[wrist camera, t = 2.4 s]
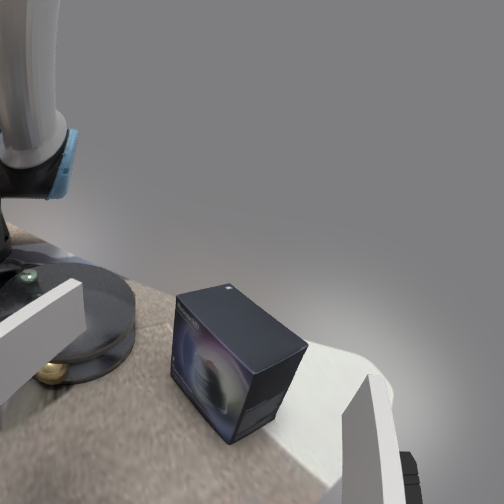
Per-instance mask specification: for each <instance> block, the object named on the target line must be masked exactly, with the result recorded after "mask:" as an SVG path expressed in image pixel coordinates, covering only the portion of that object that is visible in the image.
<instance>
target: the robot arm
mask: <svg viewBox="0 0 504 504" xmlns="http://www.w3.org/2000/svg"><path fill="white" fill-rule="evenodd" d="M59 7H60V0H0V262H1V261H2V260H4V259H5V258H6V257H7V256H8V255H9V253H10V252H11V248H12V247H11V237H10V234H9V231H8V228H7V225H6V222H5V220H4V217H3V214H2V210H1V198H2V199H3V198H21V199H22V198H24V199H25V198H27V199H45V200H49V199H60V198H63V197H64V196H65V195H66V193H67V191H68V187H69V183H70V178H71V172H72V167H73V162H74V157H75V152H76V146H77V141H78V131H77V130H74V129H72V128H68V129H67V126H66V121H65V119H64V117H63V115H62V114H61V113H60V112H59V111H57V110H56V103H55V50H56V34H57V23H58V15H59ZM85 330H86V321H85V311H84V300H83V286H82V283H81V282H79V281H77V280H75V279H73V278H71V279H69V280H67V281H65V282H64V283H62V284H60V285H59V286H57V287H55V288H54V289H52V290H50V291H49V292H47V293H46V294H44V295H42V296H41V297H39V298H37V299H36V300H34V301H33V302H31V303H29V304H28V305H26V306H25V307H23V308H22V309H20V310H19V311H17V312H15V313H14V314H13V313H12V314H9V315H5V316H2V317H1V318H0V405H2V404H3V403H4V402H5V401H7V400H8V399H9V398H10V397H11V396H12V395H13V394H14V393H15V392H16V391H17V390H18V389H19V388H20V387H22V386H23V385H24V384H25V383H26V382H27V381H28V380H29V379H30V378H31V377H32V376H34V375H35V374H36V373H37V372H38V371H39V370H40V369H41V368H42V367H44V366H45V365H46V364H47V363H48V362H49V361H50V360H52V359H53V358H54V357H55V356H56V355H57V354H58V353H60V352H61V351H62V350H63V349H64V348H65V347H66V346H68V345H69V344H70V343H71V342H72V341H73V340H75V339H76V338H77V337H78V336H79V335H81V334H82V333H83V332H84V331H85ZM342 447H343V471H342V504H423V503H422V495H421V488H420V486H419V484H420V481H419V476H418V470H417V464H416V461H415V460H414V458H413V456H412V455H411V453H410V452H400V451H399V449H398V442H397V437H396V431H395V426H394V421H393V416H392V411H391V406H390V401H389V397H388V392H387V388H386V384H385V379H384V377H382V376H377V375H371V374H368V375H367V376H366V378H365V380H364V381H363V383H362V385H361V386H360V388H359V390H358V391H357V393H356V394H355V396H354V397H353V399H352V401H351V402H350V404H349V405H348V407H347V408H346V410H345V411H344V413H343V414H342Z"/></svg>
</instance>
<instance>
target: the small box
mask: <svg viewBox="0 0 504 504" xmlns="http://www.w3.org/2000/svg"><path fill="white" fill-rule="evenodd" d="M308 345H309V344H308V343H307V342H305V341H304V340H302V339H301V338H300V337H298V336H297V335H296V334H294V333H293V332H291V331H290V330H289V329H288V328H286V327H285V326H284V325H282V324H281V323H280V322H278V321H277V320H276V319H275V318H273V317H272V316H271V315H269V314H268V313H267V312H265V311H264V310H263V309H262V308H260V307H259V306H258V305H256V304H255V303H254V302H252V301H251V300H250V299H249V298H247V297H246V296H245V295H244V294H242V293H241V292H240V291H239V290H237V289H236V288H235V287H234V286H232V285H231V284H230V283H228V284H224V285H220V286H215V287H210V288H206V289H201V290H197V291H193V292H188V293H183V294H179V295H176V308H175V318H174V330H173V344H172V357H171V372H170V374H171V376H172V377H173V378H174V380H175V381H176V382H177V384H178V385H179V386H180V388H181V389H182V390H183V392H184V393H185V394H186V395H187V397H188V398H189V399H190V400H191V402H192V403H193V404H194V405H195V407H196V408H197V409H198V410H199V412H200V413H201V414H202V415H203V416H204V418H205V419H206V420H207V421H208V422H209V423H210V425H211V426H212V427H213V428H214V429H215V430H216V432H217V433H218V434H219V435H220V436H221V437H222V438H223V439H224V440H225V442H226V443H227V444H228V445H230V444H232V443H234V442H236V441H238V440H240V439H242V438H244V437H245V436H247V435H249V434H251V433H252V432H254V431H256V430H257V429H259V428H261V427H262V426H264V425H266V424H267V423H269V422H270V421H272V420H274V419H275V416H276V413H277V411H278V409H279V406H280V405H281V403H282V401H283V398H284V396H285V395H286V392H287V390H288V388H289V386H290V384H291V382H292V380H293V377H294V375H295V372H296V371H297V368H298V366H299V364H300V361H301V360H302V357H303V355H304V353H305V352H306V350H307V348H308Z"/></svg>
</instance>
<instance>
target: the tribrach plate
mask: <svg viewBox="0 0 504 504" xmlns="http://www.w3.org/2000/svg"><path fill="white" fill-rule="evenodd" d="M71 278H73V279H75V280H77V281H79V282H81V283H82V286H83V300H84V311H85V321H86V330H85V331H84V332H83V333H82V334H81V335H79V336H78V337H77V338H76V339H75V340H73V341H72V342H71V343H70V344H69V345H68V346H66V347H65V348H64V349H63V350H62V351H61V352H60V353H58V354H57V355H56V356H55V357H54V358H53V359H52V360H50V361H49V362H48V363H47V364H46V365H45V366H44V367H42V368H41V369H40V370H39V371H38V372H37V373H36V374H35V375H34V376H32V378H34V379H37V380H39V381H41V382H42V383H45V384H48V385H55V384H62V385H64V384H78V383H84V382H88V381H91V380H95V379H97V378H100V377H102V376H104V375H106V374H108V373H109V372H111V371H113V370H114V369H115V368H117V367H118V366H119V365H120V364H121V363H122V362H123V361H124V360H125V359H126V358H127V356H128V355H129V353H130V352H131V350H132V348H133V344H134V341H135V322H134V320H135V293H134V292H133V291H132V290H131V288H130V287H129V285H128V284H127V283H126V282H125V281H124V280H123V279H121V278H120V277H119V276H117V275H115V274H114V273H112V272H110V271H107V270H105V269H102V268H99V267H96V266H92V265H87V264H81V263H52V264H45V265H41V266H37V267H33V268H30V269H27V270H24V271H22V272H21V273H19V274H17V275H16V276H14V277H13V278H11V279H10V280H9V281H7V282H6V283H5V284H4V285H3V287H2V288H1V289H0V318H1V317H2V316H5V315H9V314H12V313H13V314H14V313H15V312H17V311H19V310H20V309H22V308H23V307H25V306H26V305H28V304H29V303H31V302H33V301H34V300H36V299H37V298H39V297H41V296H42V295H44V294H46V293H47V292H49V291H50V290H52V289H54V288H55V287H57V286H59V285H60V284H62V283H64V282H65V281H67V280H69V279H71Z"/></svg>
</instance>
